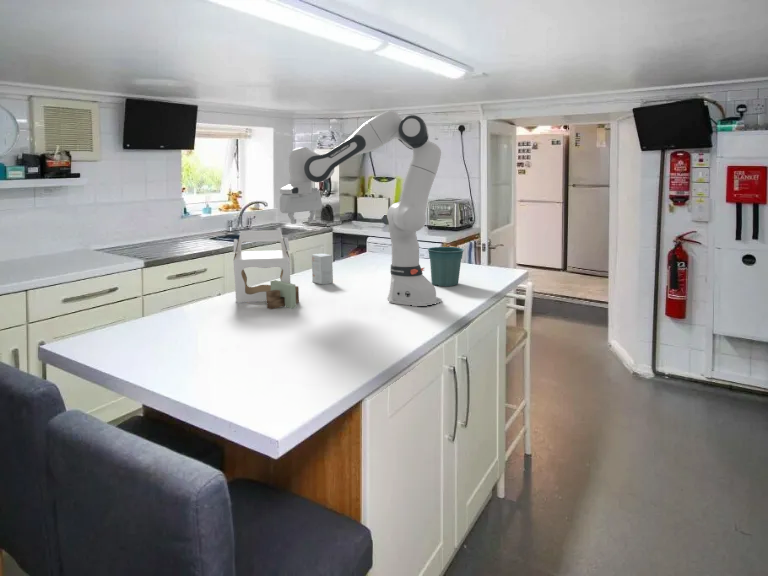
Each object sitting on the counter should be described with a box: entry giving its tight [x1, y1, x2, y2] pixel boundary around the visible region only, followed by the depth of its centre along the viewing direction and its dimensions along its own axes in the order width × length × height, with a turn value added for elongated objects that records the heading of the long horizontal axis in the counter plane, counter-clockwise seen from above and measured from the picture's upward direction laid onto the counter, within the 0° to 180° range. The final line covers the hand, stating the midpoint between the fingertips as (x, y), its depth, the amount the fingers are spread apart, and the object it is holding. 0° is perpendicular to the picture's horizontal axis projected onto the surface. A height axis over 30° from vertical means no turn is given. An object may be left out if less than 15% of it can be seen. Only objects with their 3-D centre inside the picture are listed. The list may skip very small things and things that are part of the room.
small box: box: [311, 253, 334, 285], centre depth 267 cm, size 8×6×13 cm
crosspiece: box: [270, 279, 297, 309], centre depth 227 cm, size 12×2×9 cm, turn 49°
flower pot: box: [427, 246, 465, 287], centre depth 263 cm, size 16×16×16 cm
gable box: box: [233, 229, 291, 303], centre depth 237 cm, size 22×13×28 cm, turn 101°
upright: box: [266, 285, 300, 310], centre depth 227 cm, size 14×2×6 cm, turn 139°
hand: (302, 222), depth 239 cm, fingers open, 8 cm apart
